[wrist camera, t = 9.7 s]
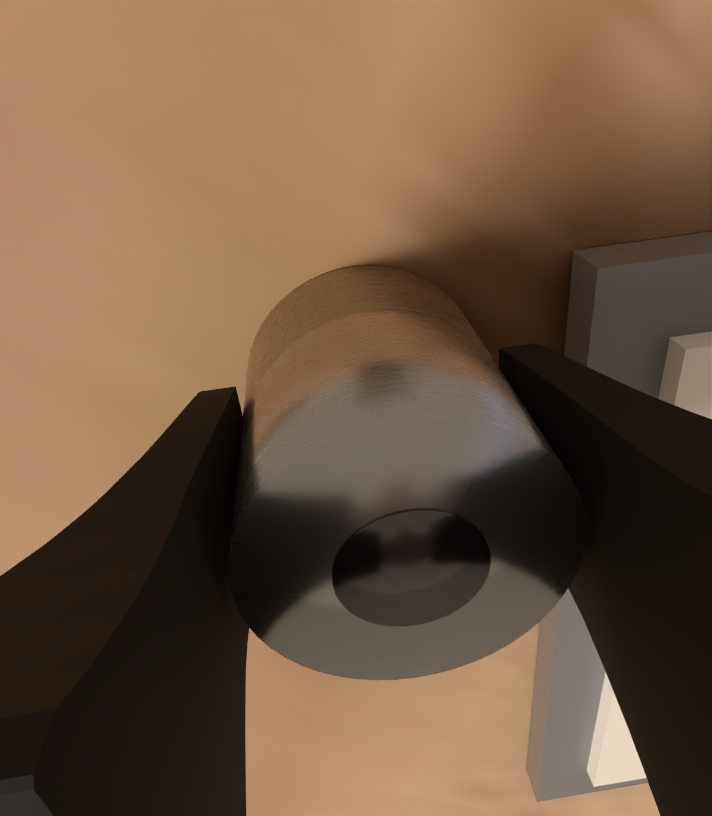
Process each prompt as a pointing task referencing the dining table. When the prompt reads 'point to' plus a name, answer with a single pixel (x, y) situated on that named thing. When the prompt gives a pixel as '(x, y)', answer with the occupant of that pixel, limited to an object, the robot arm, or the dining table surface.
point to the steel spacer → (392, 486)
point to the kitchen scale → (656, 376)
